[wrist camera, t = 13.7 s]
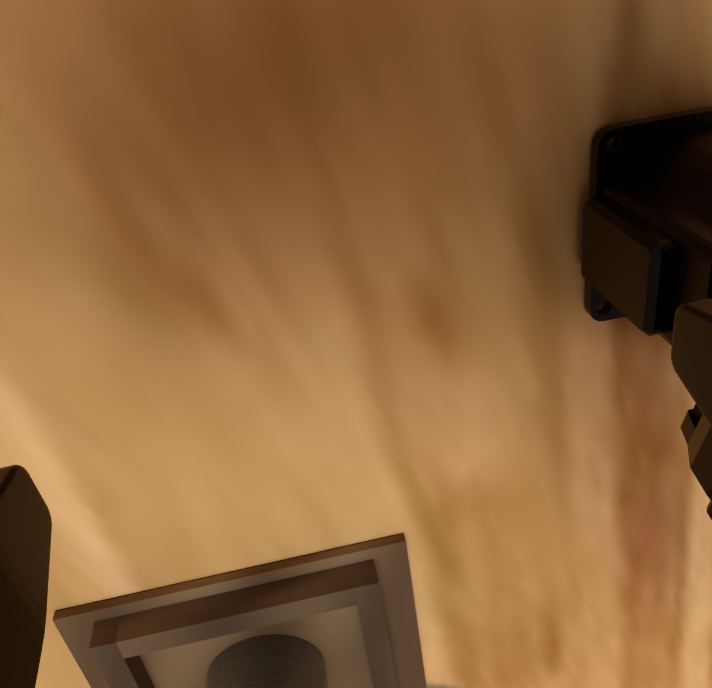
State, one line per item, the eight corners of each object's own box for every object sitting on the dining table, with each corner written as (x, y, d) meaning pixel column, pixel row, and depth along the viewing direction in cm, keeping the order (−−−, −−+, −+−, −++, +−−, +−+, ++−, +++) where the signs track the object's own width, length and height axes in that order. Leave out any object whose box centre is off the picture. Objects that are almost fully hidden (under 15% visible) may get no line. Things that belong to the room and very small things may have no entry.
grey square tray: (403, 533, 28) (412, 564, 26) (428, 707, 34) (436, 739, 33) (54, 611, 27) (45, 647, 25) (148, 775, 33) (144, 811, 32)
